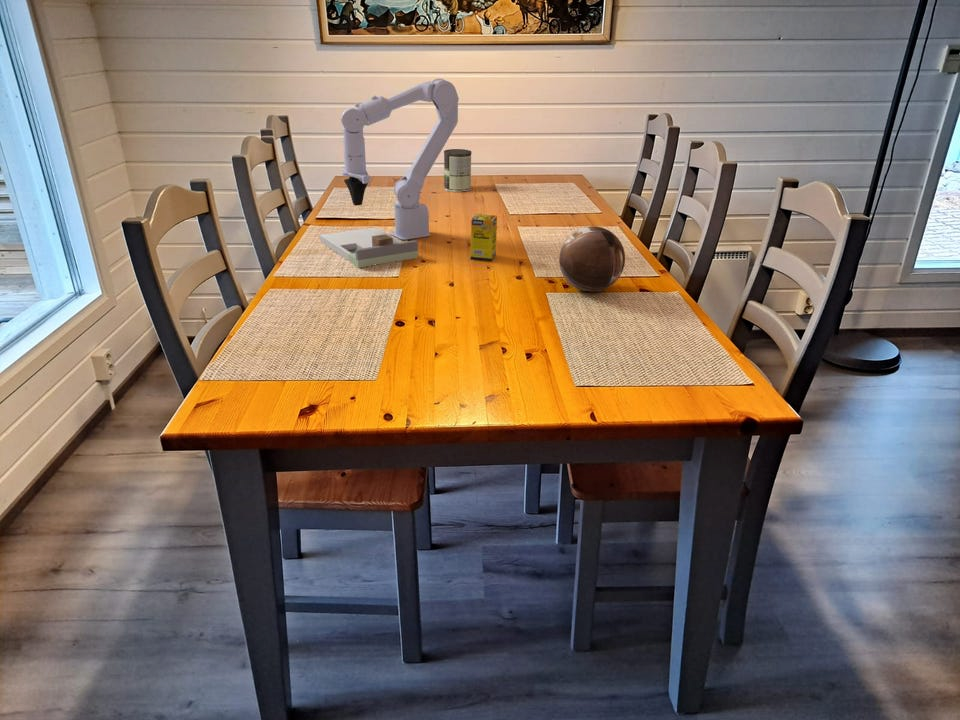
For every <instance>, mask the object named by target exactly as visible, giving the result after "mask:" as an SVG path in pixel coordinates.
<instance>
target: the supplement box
mask: <svg viewBox="0 0 960 720" xmlns="http://www.w3.org/2000/svg"><path fill="white" fill-rule="evenodd" d="M470 221H471V223H470V260H472V259H475V260H474V261H483V260H487V261H486V262H493V259H494V258H495V257H496V253H497V233H498V231H497V230H498V229H497V227H498V215H495V214H493V215H492V214H482V213H477V214H476V213H475V215H474V216H473V217H472V218H471V219H470ZM493 257H494V258H493Z"/></svg>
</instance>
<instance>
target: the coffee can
mask: <svg viewBox="0 0 960 720" xmlns="http://www.w3.org/2000/svg"><path fill="white" fill-rule="evenodd" d="M443 154H444V155H443V157H444V158H443V159H444V160H443V163H444V164H443V167H444V170H443V172H444V173H443V174H444V175H443V176H444V177H443V178H444V179H443V180H444V182H443V185H444V186H443V189H444V191H446V192H449V191H451V193H462V192H461V191H467V192H470V191H471V186H472V185H471V183H472V182H471V181H472V150H469V149H464V148H463V149H462V148H450V149H449V148H448V149H445V150H443ZM469 190H470V191H469ZM452 191H453V192H452Z"/></svg>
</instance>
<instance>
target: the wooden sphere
mask: <svg viewBox="0 0 960 720" xmlns="http://www.w3.org/2000/svg"><path fill="white" fill-rule="evenodd" d="M558 261H559V269H560V271H561V274H562V277H563V278H564V280H565V281H566V282H567V283H568V284H569V285H570V286H572V287H574V288H575V289H577V290H579V291H581V290H584V291H583V292H585V291H597V292H601V291H604V290H606V289H608V288H610V287H612V286H613V285H614V284H615V283H616V282H617V281H618V280H619V279H620V276H621V275H622V274H623V271H624V268H625V264H626V253H625V249H624V247H623V244H622V242H621V240H620V239H619V237H617V235H616V234H615V233H613V232H612V231H610V230H609V229H606V228H604V227H601V226H585V227H582V228H580V229H578V230H575V231H574V232H573V233H571V234H570V235H569V236H568V237H567V238H566V239H565V240H564V242H563V244H562V246H561V249H560V251H559V255H558ZM600 290H601V291H600Z"/></svg>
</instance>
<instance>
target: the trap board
mask: <svg viewBox="0 0 960 720" xmlns="http://www.w3.org/2000/svg"><path fill="white" fill-rule="evenodd" d="M384 234H386V235H388V236H390V237H392V238H393V244H388V245H381V246H375V247H372V236H377V235H384ZM319 241H320V243H321V242H322V243H323V245H324V244H325V245H326V246H325V245H324V246H325V247H327V246H328V247H329V248H328V247H327V248H328V249H330V248H331V249H332V250H331V249H330V250H331V251H333V250H334V251H335V252H334V251H333V252H334V253H336V252H337V253H338V254H337V253H336V254H337V255H339V254H340V255H341V256H342V257H341V256H340V255H339V256H340V257H341V258H343V257H344V258H345V260H346V259H347V260H348V261H347V260H346V261H347V262H349V261H350V262H351V263H350V262H349V263H350V264H352V265H353V264H354V265H353V266H355V267H356V268H357V269H361V267H362V268H366V266H368V267H372V266H371V265H373V266H376V265H375V264H379V265H382V264H381V263H385V264H389V263H388V262H391V263H396V262H395V261H397V262H401V261H407V260H408V261H409V260H413V259H414V260H415V259H418V258H419V249H418V248H419V246H418V244H419V243H418V242H419V241H417V240H416V239H414V240H409V241H407V240H406V241H402V240H400V239H398V238H397V237H395V236H393V235H391V234H389V233H386V232H385V231H383V230H381V229H379V228H378V227H370V228H369V227H367V228H361V229H354V230H353V229H352V230H348V231H347V230H346V231H340V232H332V233H325V234H324V233H323V234H319ZM322 243H321V244H322ZM344 258H343V259H344Z"/></svg>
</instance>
